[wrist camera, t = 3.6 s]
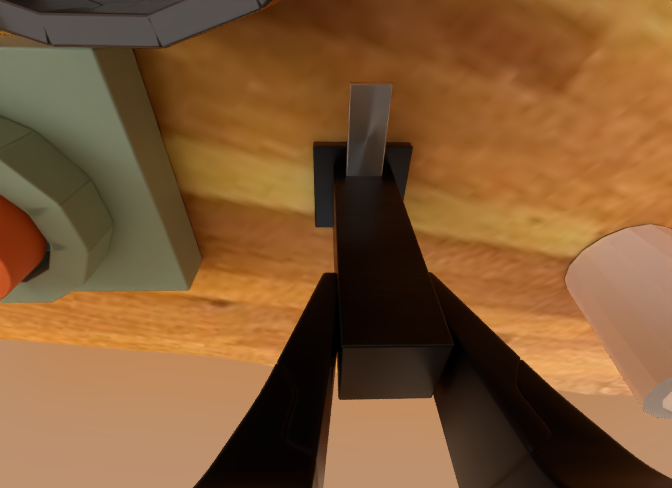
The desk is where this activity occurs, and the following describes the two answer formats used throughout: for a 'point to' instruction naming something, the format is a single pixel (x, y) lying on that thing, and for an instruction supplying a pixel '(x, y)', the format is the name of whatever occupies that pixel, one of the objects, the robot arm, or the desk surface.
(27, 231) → the button
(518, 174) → the desk surface
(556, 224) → the desk surface
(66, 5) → the bowl
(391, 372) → the dark blocky piece
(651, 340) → the shot glass
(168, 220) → the control block
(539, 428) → the robot arm
